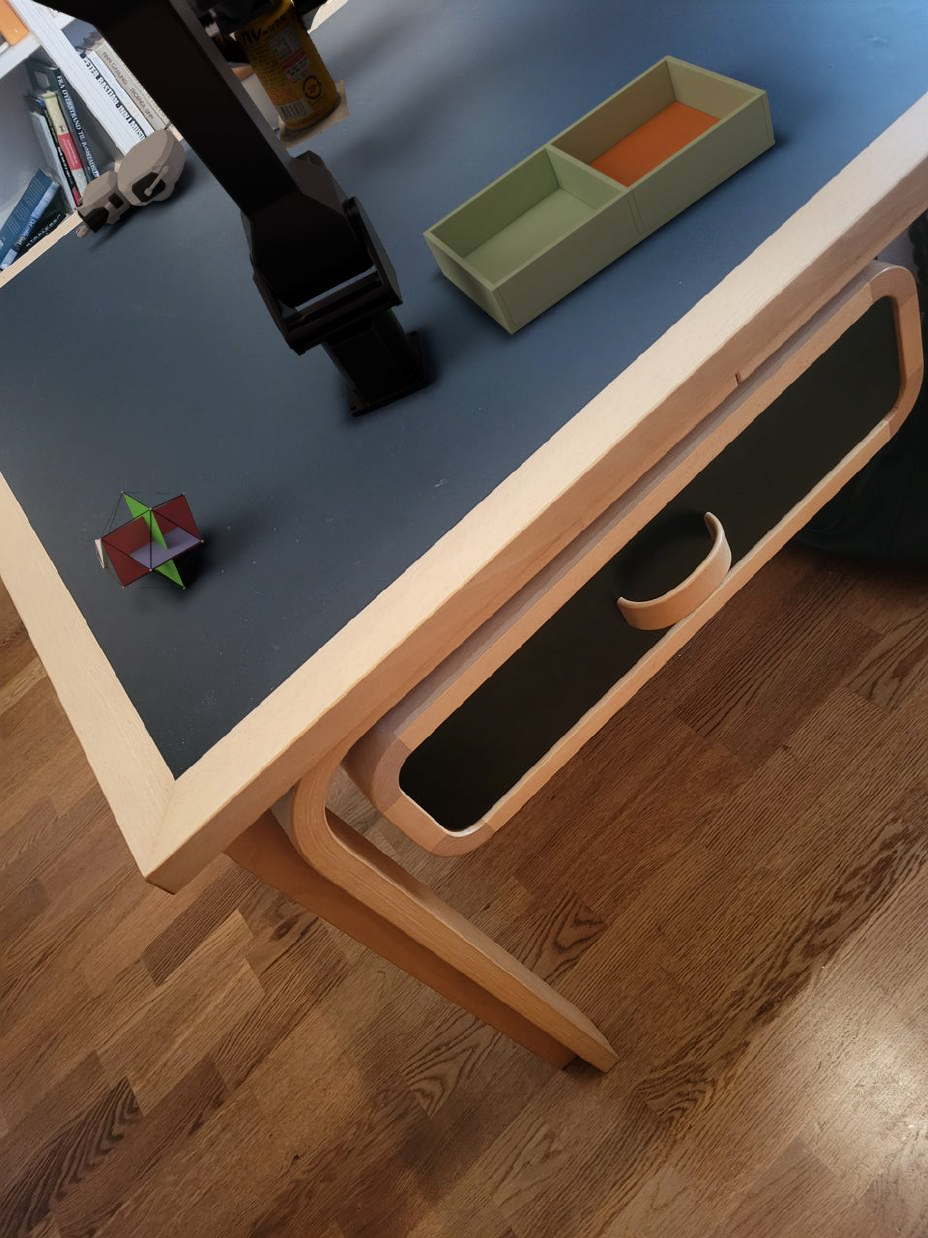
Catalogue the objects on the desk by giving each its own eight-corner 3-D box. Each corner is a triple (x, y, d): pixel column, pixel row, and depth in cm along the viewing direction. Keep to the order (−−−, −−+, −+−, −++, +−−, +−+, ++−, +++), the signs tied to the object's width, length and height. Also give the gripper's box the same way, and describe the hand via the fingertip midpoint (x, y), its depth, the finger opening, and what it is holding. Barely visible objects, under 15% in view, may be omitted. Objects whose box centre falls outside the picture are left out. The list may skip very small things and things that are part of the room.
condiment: (343, 81, 91) (275, -51, 82) (350, 116, 86) (278, -21, 77) (279, 118, 93) (205, -8, 84) (282, 155, 87) (204, 25, 79)
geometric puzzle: (187, 482, 71) (84, 473, 65) (236, 508, 66) (130, 501, 61) (173, 572, 73) (71, 572, 67) (219, 603, 68) (114, 605, 62)
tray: (511, 335, 68) (491, 291, 65) (443, 274, 76) (422, 232, 73) (775, 143, 68) (767, 90, 65) (679, 102, 76) (667, 54, 73)
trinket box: (240, 161, 105) (188, 80, 98) (230, 125, 112) (182, 47, 105) (322, 110, 104) (275, 25, 97) (307, 77, 111) (263, -5, 104)
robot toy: (92, 261, 109) (195, 193, 105) (62, 230, 105) (167, 158, 101) (101, 210, 116) (197, 144, 112) (74, 179, 113) (171, 110, 109)
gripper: (264, -229, 68) (329, -99, 83) (55, -90, 71) (154, 10, 87) (327, -81, 68) (381, 22, 84) (117, 49, 72) (204, 124, 87)
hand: (277, 42), depth 85 cm, fingers closed on condiment, 6 cm apart
